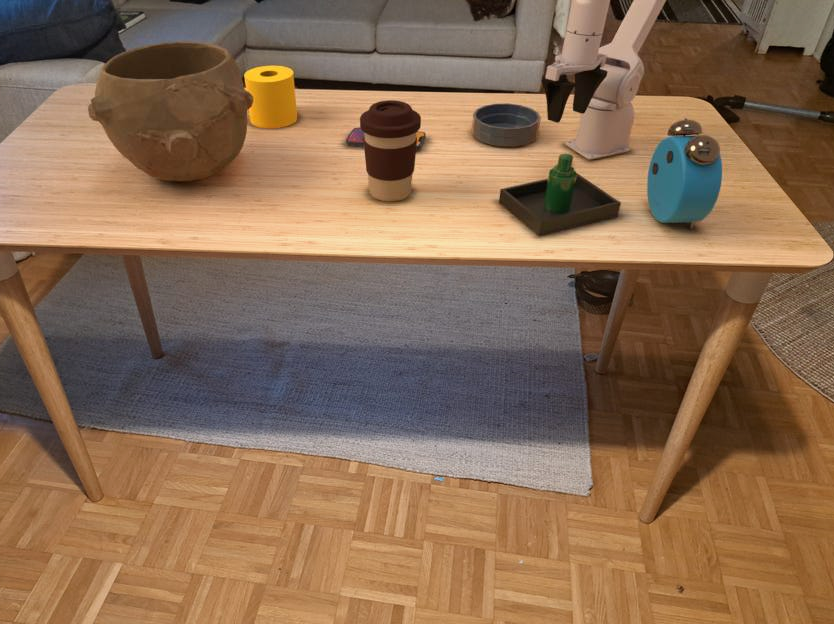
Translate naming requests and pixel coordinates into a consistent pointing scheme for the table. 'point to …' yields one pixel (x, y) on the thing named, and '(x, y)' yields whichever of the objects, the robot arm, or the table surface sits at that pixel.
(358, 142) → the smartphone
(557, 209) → the bottle
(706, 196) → the alarm clock
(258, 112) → the yellow toilet paper roll
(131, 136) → the bowl
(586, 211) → the tray
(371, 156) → the coffee cup
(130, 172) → the table surface
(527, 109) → the dish
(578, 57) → the robot arm
